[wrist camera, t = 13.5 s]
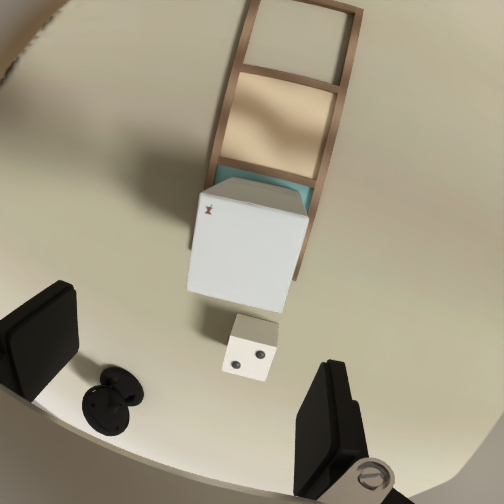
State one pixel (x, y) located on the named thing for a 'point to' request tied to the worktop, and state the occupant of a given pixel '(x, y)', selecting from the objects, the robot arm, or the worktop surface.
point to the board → (280, 123)
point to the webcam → (111, 402)
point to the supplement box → (247, 243)
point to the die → (251, 347)
